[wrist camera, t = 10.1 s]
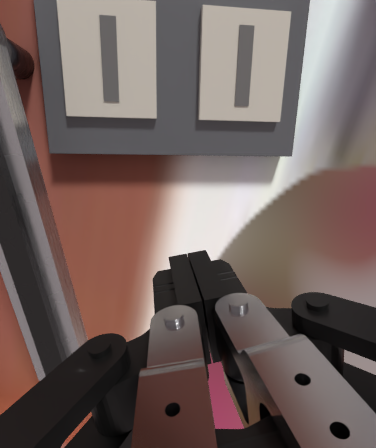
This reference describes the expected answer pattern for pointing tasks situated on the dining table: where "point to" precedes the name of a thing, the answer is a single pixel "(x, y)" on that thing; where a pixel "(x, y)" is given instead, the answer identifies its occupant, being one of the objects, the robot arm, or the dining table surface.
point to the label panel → (171, 75)
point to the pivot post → (20, 60)
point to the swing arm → (32, 239)
